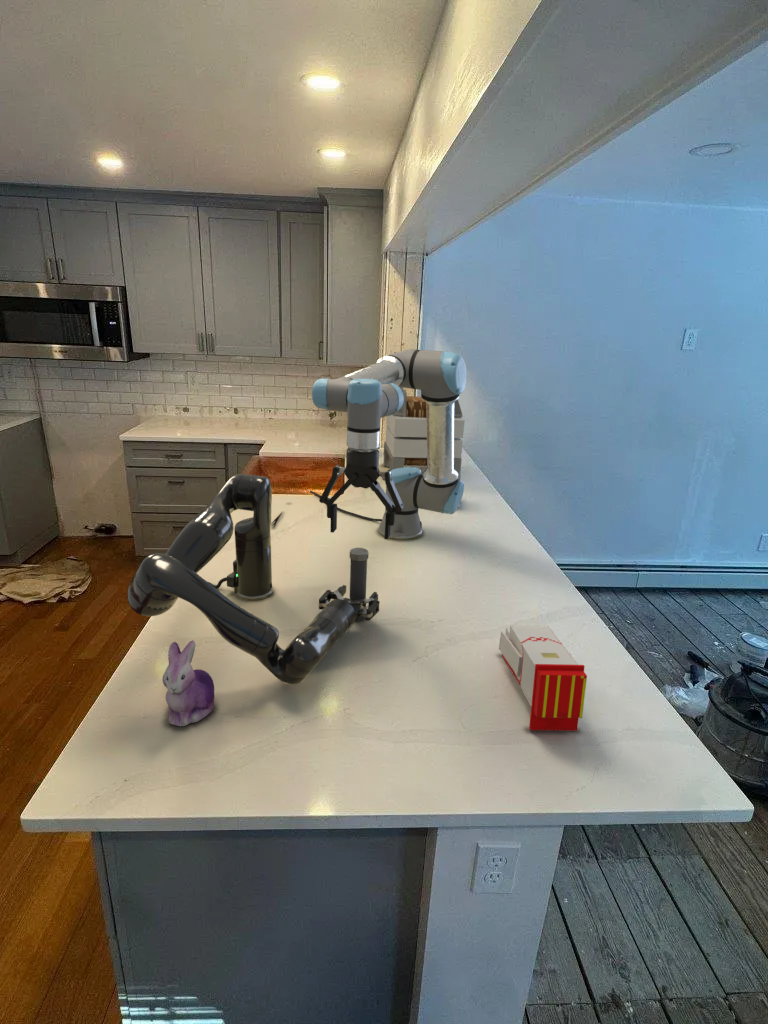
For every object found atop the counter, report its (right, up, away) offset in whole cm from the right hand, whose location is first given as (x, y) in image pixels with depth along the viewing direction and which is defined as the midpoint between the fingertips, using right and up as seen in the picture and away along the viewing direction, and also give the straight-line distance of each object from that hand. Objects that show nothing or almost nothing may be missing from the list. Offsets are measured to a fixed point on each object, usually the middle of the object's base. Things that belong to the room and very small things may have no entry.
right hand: (360, 534), depth 138 cm
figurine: (-31, -33, -29) cm, 54 cm away
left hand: (0, -15, +7) cm, 17 cm away
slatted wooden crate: (+23, +24, +137) cm, 141 cm away
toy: (+38, -32, -17) cm, 52 cm away
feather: (-33, +4, +74) cm, 81 cm away
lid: (0, -5, +2) cm, 5 cm away
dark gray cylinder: (-1, -21, +8) cm, 23 cm away
